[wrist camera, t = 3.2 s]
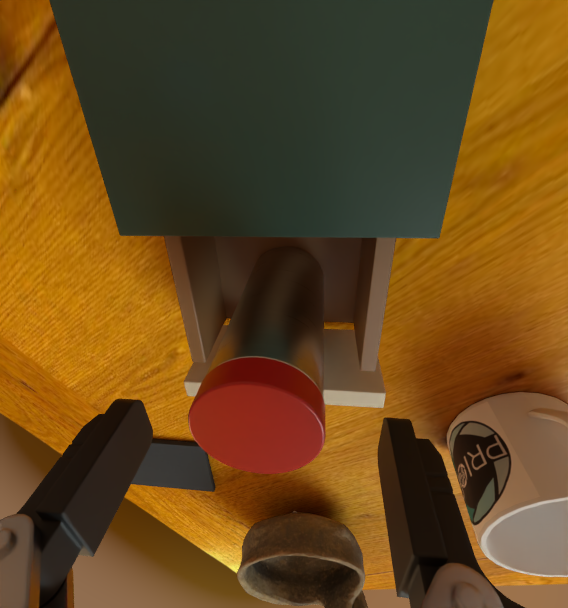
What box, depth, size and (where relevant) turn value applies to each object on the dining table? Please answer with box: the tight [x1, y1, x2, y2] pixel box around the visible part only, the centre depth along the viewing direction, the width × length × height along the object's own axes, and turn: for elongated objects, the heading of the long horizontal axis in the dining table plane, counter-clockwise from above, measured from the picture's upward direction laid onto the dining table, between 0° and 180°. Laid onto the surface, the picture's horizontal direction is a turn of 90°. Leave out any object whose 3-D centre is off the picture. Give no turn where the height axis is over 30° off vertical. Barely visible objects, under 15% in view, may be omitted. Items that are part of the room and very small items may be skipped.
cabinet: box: [50, 0, 493, 238], centre depth 12 cm, size 14×13×8 cm
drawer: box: [164, 236, 396, 408], centre depth 18 cm, size 14×11×6 cm
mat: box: [131, 439, 215, 492], centre depth 35 cm, size 10×8×1 cm
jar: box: [188, 247, 325, 474], centre depth 15 cm, size 4×4×11 cm
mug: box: [447, 392, 568, 577], centre depth 23 cm, size 13×10×8 cm
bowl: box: [237, 511, 368, 608], centre depth 35 cm, size 14×18×10 cm
